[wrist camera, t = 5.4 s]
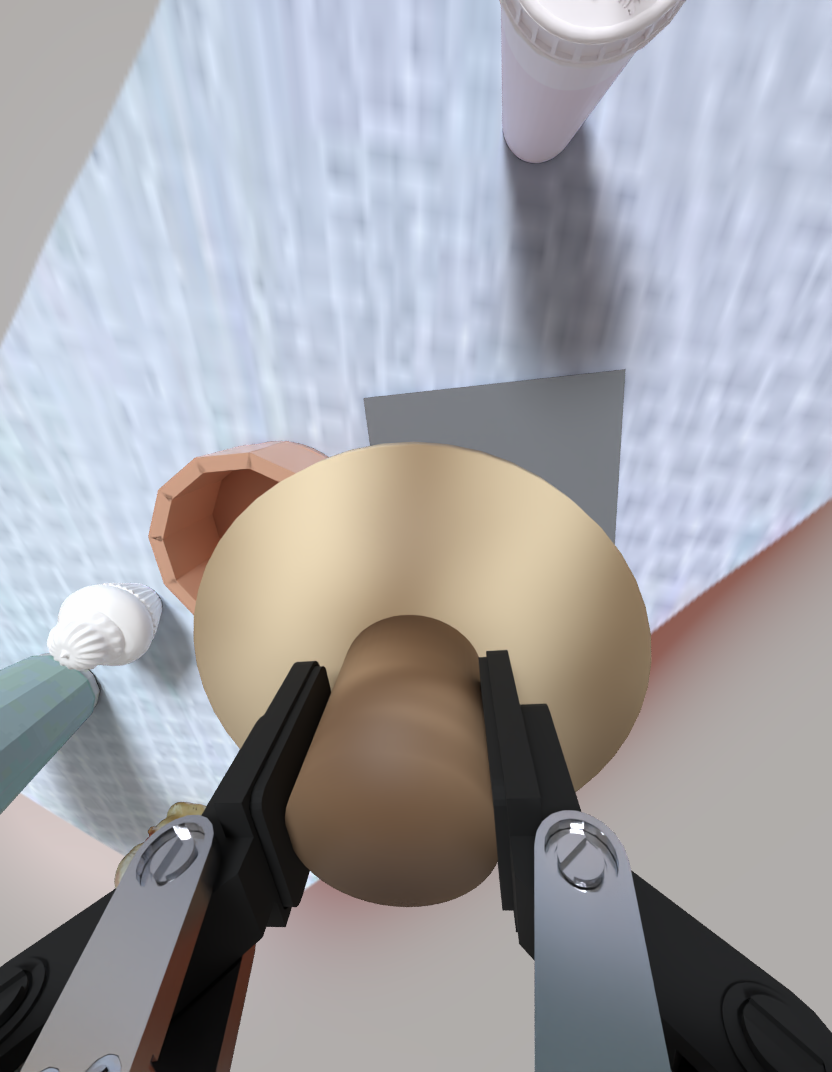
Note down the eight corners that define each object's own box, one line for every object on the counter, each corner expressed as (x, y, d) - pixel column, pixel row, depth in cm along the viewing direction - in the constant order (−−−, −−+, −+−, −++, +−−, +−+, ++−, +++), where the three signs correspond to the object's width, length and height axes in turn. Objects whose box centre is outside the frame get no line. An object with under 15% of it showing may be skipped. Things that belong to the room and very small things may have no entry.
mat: (621, 369, 23) (625, 369, 23) (608, 602, 28) (610, 606, 28) (365, 397, 25) (363, 398, 24) (394, 612, 30) (393, 616, 29)
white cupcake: (96, 612, 32) (4, 669, 25) (115, 550, 30) (20, 595, 23) (168, 648, 33) (97, 713, 26) (192, 590, 31) (121, 645, 24)
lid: (646, 409, 10) (867, 427, 5) (627, 802, 14) (732, 1044, 9) (154, 472, 11) (-95, 539, 6) (269, 809, 15) (179, 1019, 10)
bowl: (354, 432, 26) (326, 444, 20) (377, 589, 29) (359, 636, 24) (192, 449, 27) (123, 464, 21) (234, 596, 30) (184, 643, 25)
